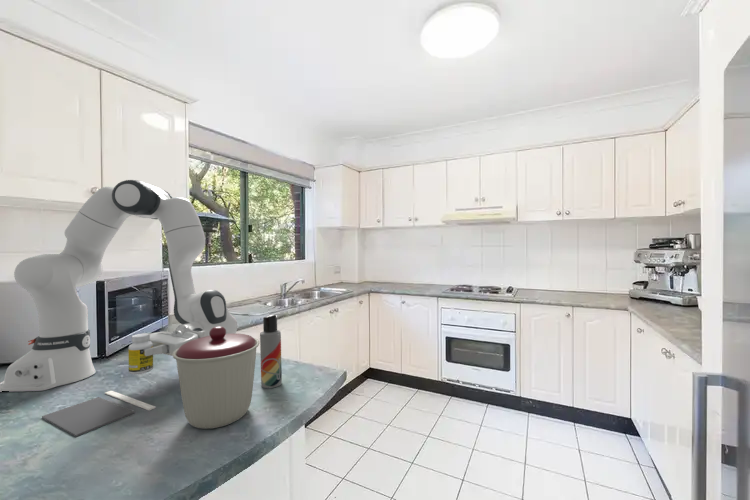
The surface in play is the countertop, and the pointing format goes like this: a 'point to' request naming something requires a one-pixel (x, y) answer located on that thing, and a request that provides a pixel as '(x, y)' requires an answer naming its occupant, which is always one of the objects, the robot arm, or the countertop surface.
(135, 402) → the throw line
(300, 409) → the countertop surface
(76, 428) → the mat
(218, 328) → the canister
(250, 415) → the countertop surface
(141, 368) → the supplement bottle
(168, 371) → the countertop surface
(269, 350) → the lotion bottle
